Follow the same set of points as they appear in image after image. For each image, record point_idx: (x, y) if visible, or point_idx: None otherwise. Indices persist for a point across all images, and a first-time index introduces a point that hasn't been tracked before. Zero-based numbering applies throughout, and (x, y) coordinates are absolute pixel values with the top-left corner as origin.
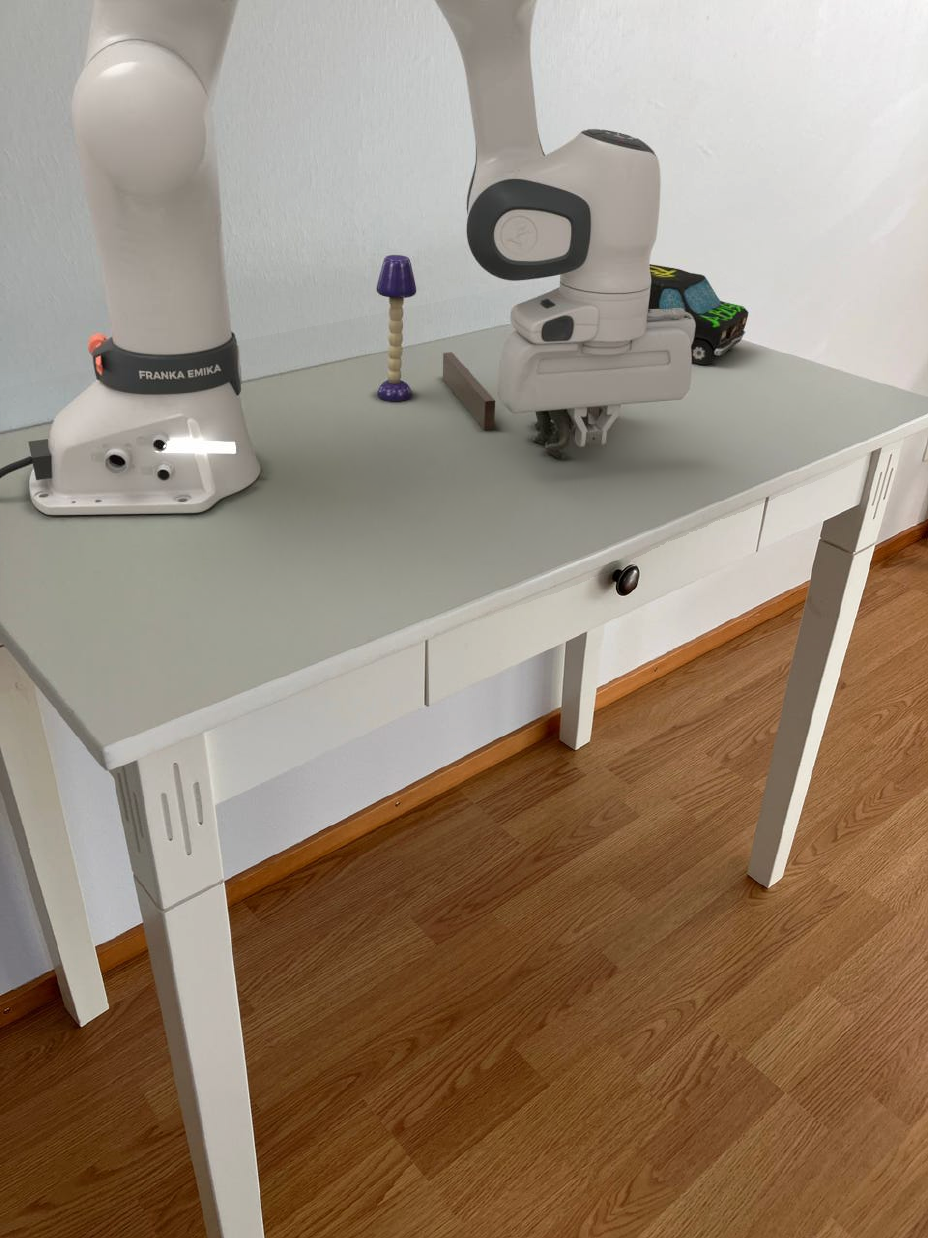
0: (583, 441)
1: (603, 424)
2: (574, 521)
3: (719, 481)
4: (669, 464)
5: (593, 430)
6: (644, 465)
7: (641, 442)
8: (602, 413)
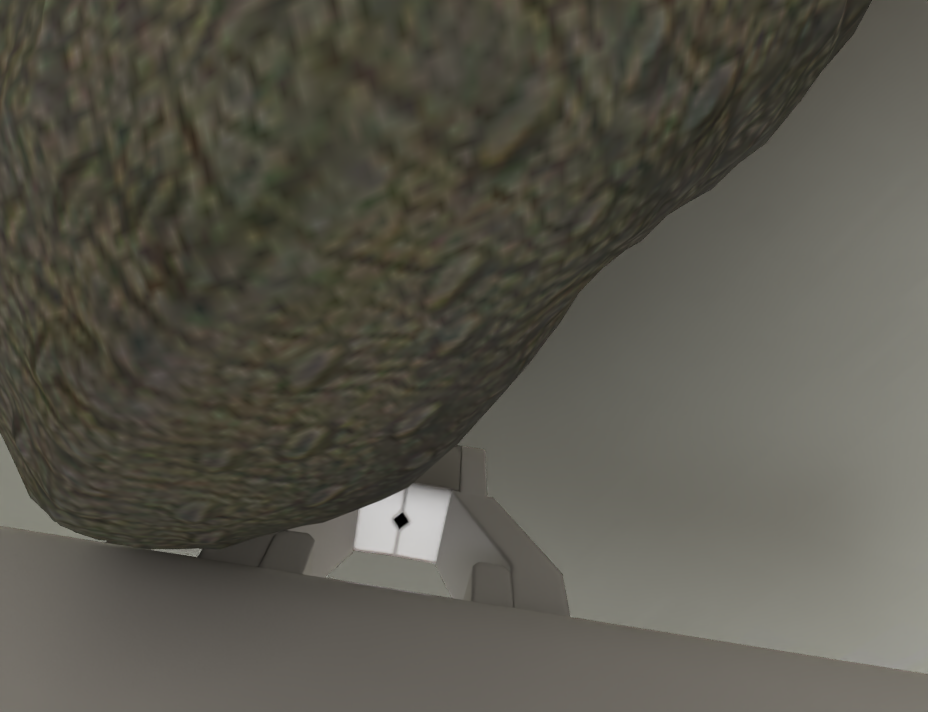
0: None
1: (449, 576)
2: None
3: (769, 640)
4: (737, 495)
5: (391, 550)
6: (644, 468)
7: (829, 273)
8: (485, 553)
